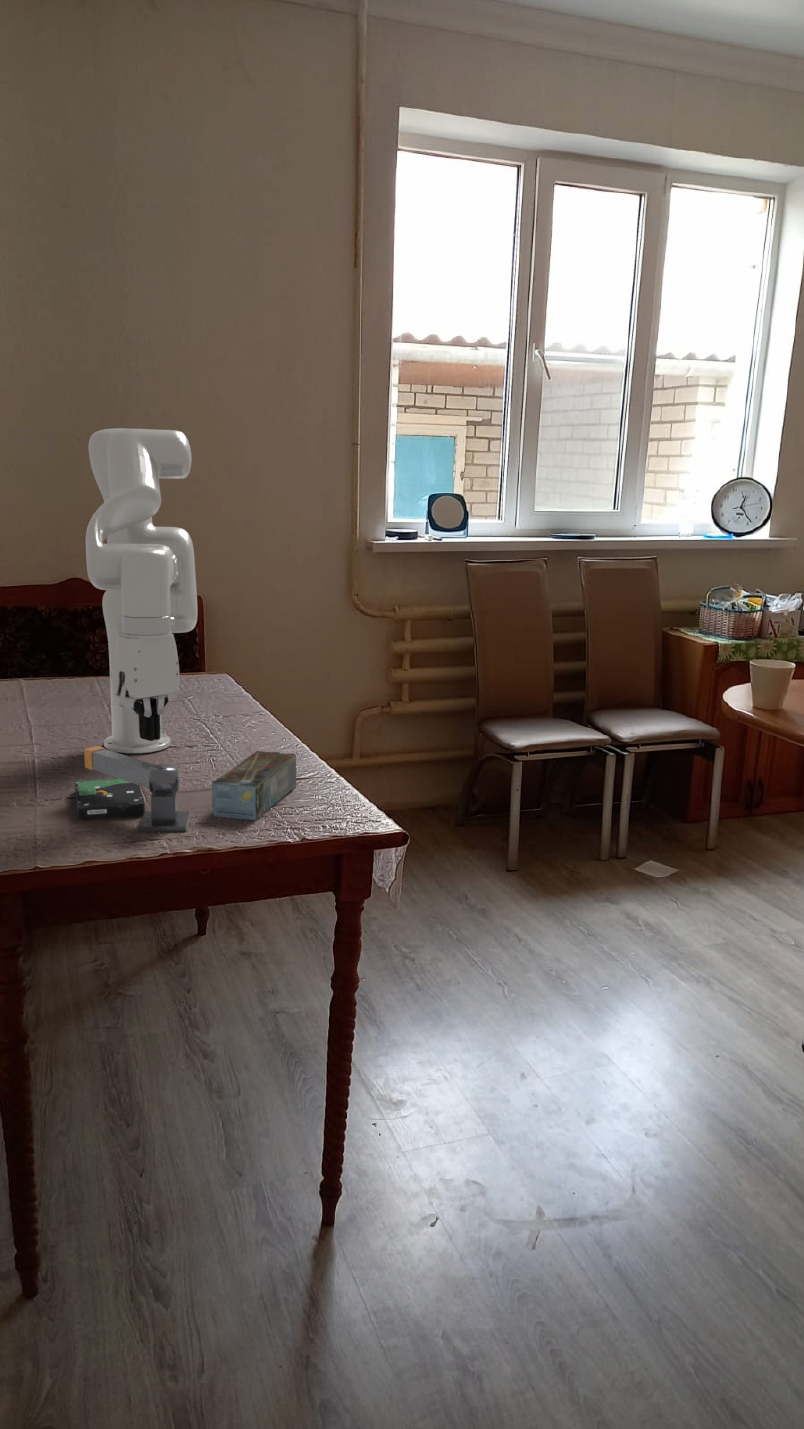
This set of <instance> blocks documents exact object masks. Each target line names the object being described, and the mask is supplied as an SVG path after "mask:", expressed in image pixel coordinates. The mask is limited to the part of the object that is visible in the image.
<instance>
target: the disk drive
mask: <svg viewBox="0 0 804 1429" xmlns="http://www.w3.org/2000/svg"><path fill="white" fill-rule="evenodd" d="M74 787H75V788H74V789H75V800H76V801H75V802H76V810H77V812H76V813H77V821H78V820H85V821H91V820H90V819H98V820H111V819H121V818H122V819H124V818H125V819H126V818H135V817H137V818H138V817H143V815H144V812H145V811H146V810H145V809H146V808H145V799H144V797H143V794H142V789H141V786H140V785H137V784H134V783H131V782H128V781H125V780H122V779H119V778H116V777H105V778H104V779H103V778H102V779H101V778H100V779H90V780H89V779H87V780H86V779H85V780H83V779H79V780H77V781H75V786H74Z"/></svg>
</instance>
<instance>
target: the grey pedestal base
mask: <svg viewBox="0 0 804 1429" xmlns="http://www.w3.org/2000/svg"><path fill="white" fill-rule="evenodd" d="M178 799H179V798H178V791H177V792H175V793H171V794H154V793H151V796H150V805H151V806H150V808H151V809H150V810H151V811H147V810H145V812H144V815H143V816H141V817H142V818H141V820H140V822H139V825H138V832H139V833H140V832H141V833H145V832H147V833H149V832H160V833H161V832H187V829H188V825H189V821H190V817H191V811H190V810H186V811H185V810H184V811H183V810H179V809H178V808H179V807H178V806H179V802H178Z"/></svg>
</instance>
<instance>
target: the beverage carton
mask: <svg viewBox="0 0 804 1429" xmlns="http://www.w3.org/2000/svg"><path fill="white" fill-rule="evenodd" d="M296 787H297V756H296V754H295V753H283V752H281V753H280V752H275V751H273V752H270V751H262V750H261V751H260V750H256V751H255V752H253V753H252V754H250V755H249V756H248V757H247V758H245V759H244V760H242V761H241V762H240V763H238V764H237V765H236V766H234V767H233V768H232V769H231V768H230V770H228V771H227V772H225V773H223V775H222V776H220V777H218V778H216V780H214V781H212V783H211V790H212V792H211V793H212V794H211V797H212V798H211V799H212V800H211V801H212V803H211V804H212V805H211V806H212V809H213V810H212V812H213V816H214V817H219V818H229V819H230V818H231V819H239V820H246V821H247V820H248V821H257V820H258V819H260V817H262V816H263V815H264V814H266V813H267V812H268V811H269V810H270V809H271V808H273V807H274V806H275V805H276V804H278V803H279V801H281V799H283V798H284V797H285V796H287V795H288V794H289V793H290V792H291V791H292V790H294V789H295V788H296Z"/></svg>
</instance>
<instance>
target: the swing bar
mask: <svg viewBox="0 0 804 1429" xmlns="http://www.w3.org/2000/svg"><path fill="white" fill-rule="evenodd" d="M83 750H84V751H83V752H84V753H83V754H84V768H85V769H87V770H90V771H95V772H99V773H102V774H105V775H108V776H111V777H112V778H119V779H122V780H125V781H128V782H131V783H134V784H137V785H140V787H143V788H147V789H148V790H149V792H150V793H151V794H152V793H154V794H171V793H175V792H177V793H178V791H179V789H180V786H179V785H180V784H179V783H180V782H179V766H178V765H176V764H172V763H171V764H170V763H159V764H153V763H151V762H148V761H144V760H141V759H137V758H136V757H135V758H134V757H131V756H130V755H129V756H128V755H125V754H123V753H119V752H114V751H110V750H108V749H106V748H105V747H102V746H100V745H97V746H96V745H95V746H91V747H86V748H83Z"/></svg>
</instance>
